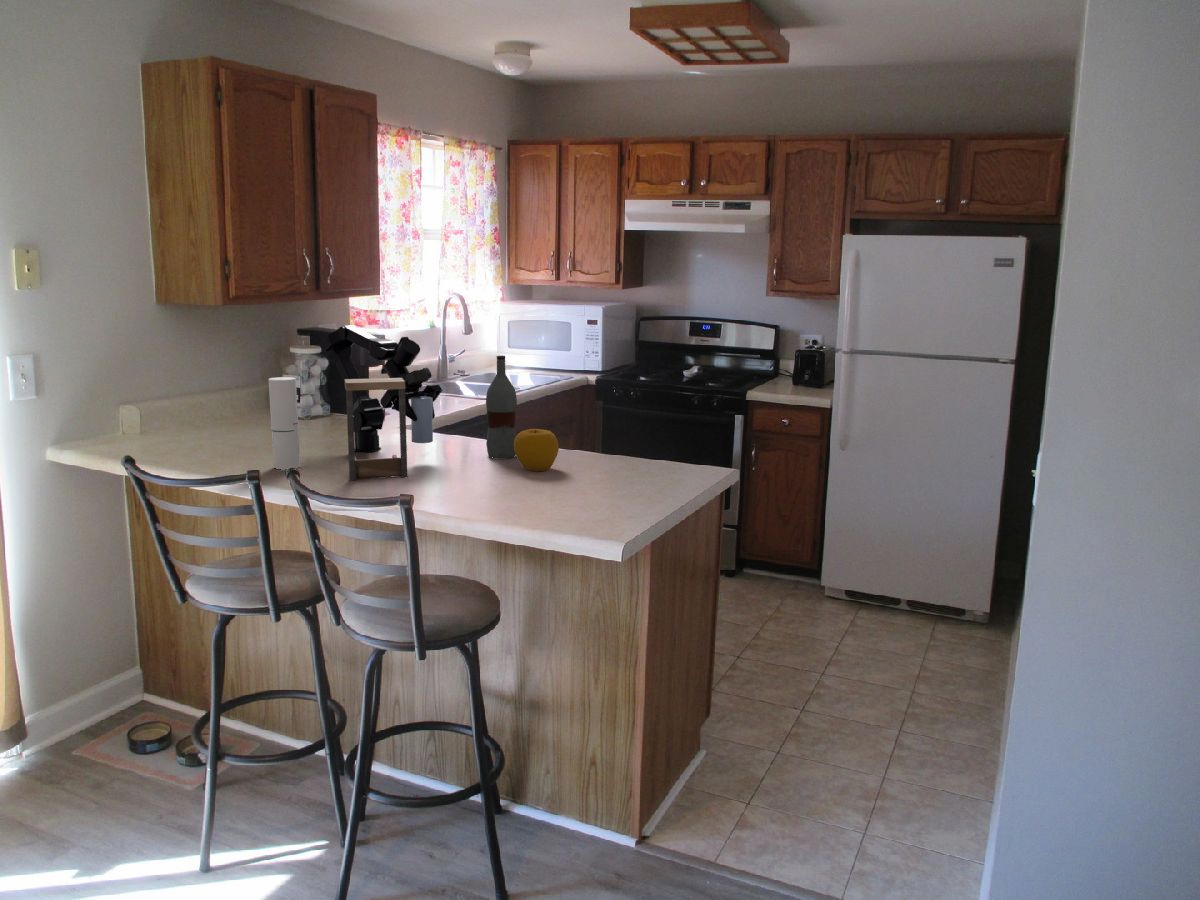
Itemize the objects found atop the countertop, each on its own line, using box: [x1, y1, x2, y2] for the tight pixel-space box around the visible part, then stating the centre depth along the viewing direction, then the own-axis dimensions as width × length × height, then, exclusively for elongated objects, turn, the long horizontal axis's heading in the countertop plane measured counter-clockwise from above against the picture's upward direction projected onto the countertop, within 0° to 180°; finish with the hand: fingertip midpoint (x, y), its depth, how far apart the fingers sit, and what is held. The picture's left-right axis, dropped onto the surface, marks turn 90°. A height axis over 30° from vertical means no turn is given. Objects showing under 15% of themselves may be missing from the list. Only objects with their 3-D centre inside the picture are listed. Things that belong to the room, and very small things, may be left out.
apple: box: [514, 428, 559, 473], centre depth 270 cm, size 13×13×11 cm
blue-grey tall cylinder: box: [410, 396, 434, 444], centre depth 276 cm, size 6×6×12 cm
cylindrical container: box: [268, 376, 301, 471], centre depth 268 cm, size 7×7×25 cm
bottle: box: [485, 355, 518, 459], centre depth 286 cm, size 9×9×30 cm
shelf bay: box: [344, 377, 408, 482], centre depth 261 cm, size 15×15×26 cm
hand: (425, 419), depth 275 cm, fingers closed on blue-grey tall cylinder, 6 cm apart
